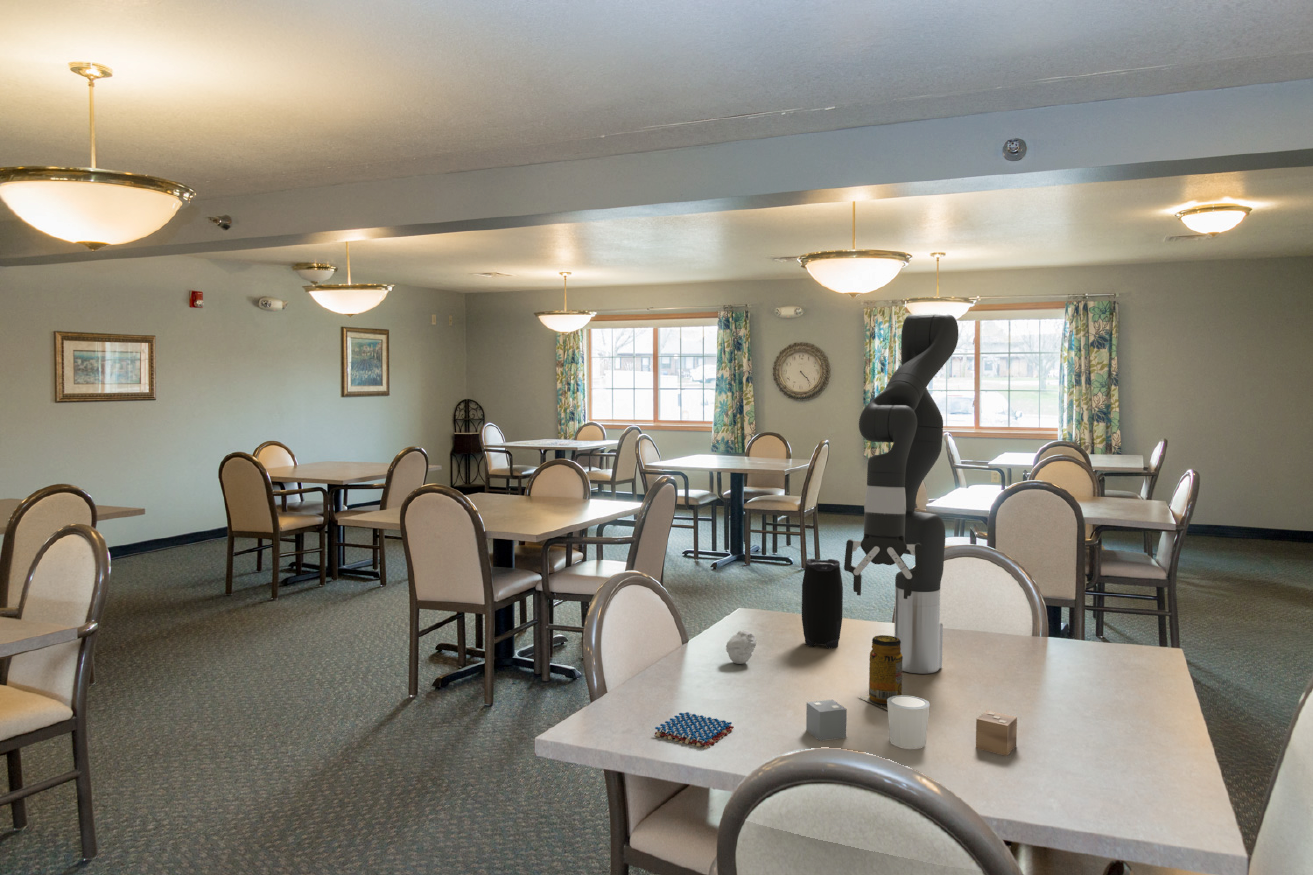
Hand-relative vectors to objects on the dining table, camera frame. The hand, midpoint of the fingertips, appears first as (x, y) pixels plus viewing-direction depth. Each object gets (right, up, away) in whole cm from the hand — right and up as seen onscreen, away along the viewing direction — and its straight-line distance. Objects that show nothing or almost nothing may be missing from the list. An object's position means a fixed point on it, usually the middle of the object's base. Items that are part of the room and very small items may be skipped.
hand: (881, 596), depth 170 cm
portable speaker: (-4, -18, +40) cm, 44 cm away
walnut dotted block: (+14, -21, -21) cm, 33 cm away
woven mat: (-36, -21, -15) cm, 45 cm away
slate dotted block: (-13, -21, -15) cm, 29 cm away
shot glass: (-1, -21, -19) cm, 29 cm away
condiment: (+1, -20, +1) cm, 20 cm away
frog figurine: (-24, -19, +25) cm, 40 cm away
